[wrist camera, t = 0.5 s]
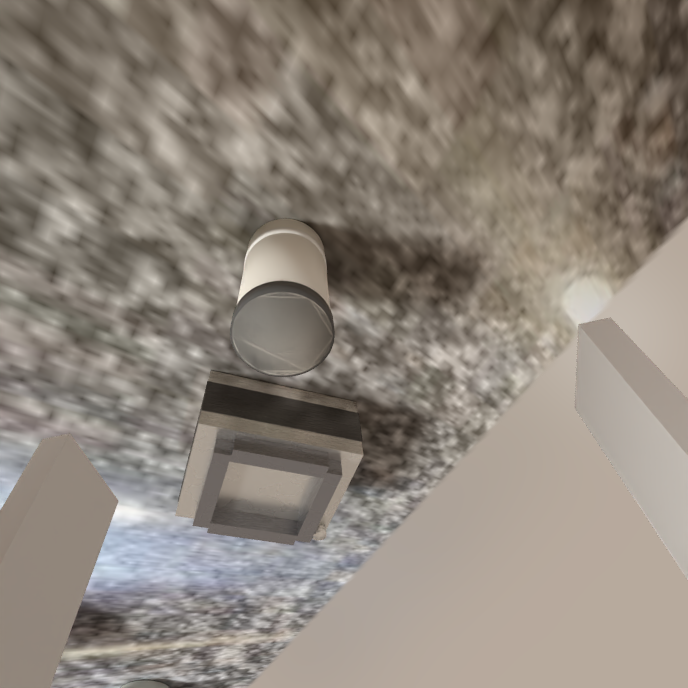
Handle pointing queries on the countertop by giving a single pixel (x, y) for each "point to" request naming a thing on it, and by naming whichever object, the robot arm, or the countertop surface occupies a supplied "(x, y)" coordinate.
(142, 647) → the countertop surface
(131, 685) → the beer can
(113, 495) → the robot arm
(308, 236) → the beige and black cylinder
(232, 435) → the grey square holder base
